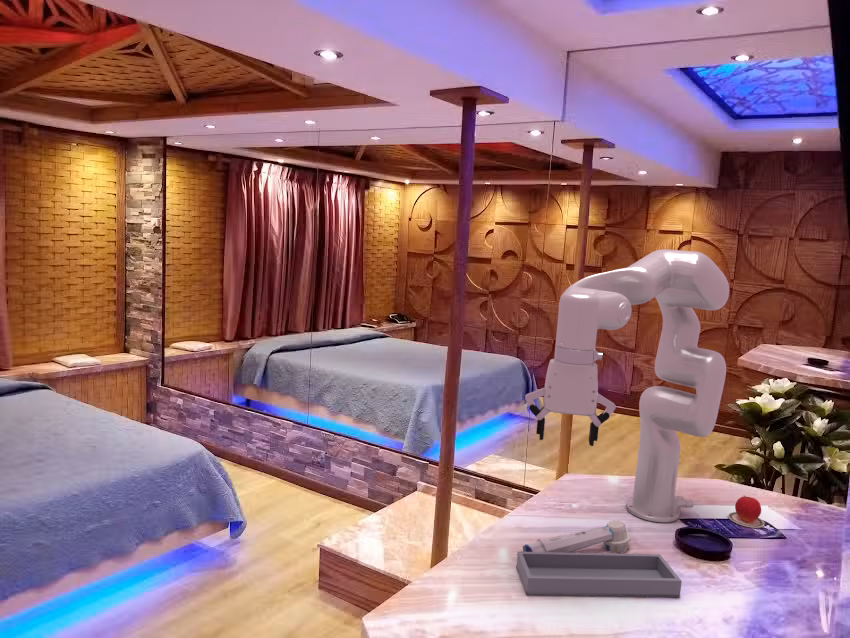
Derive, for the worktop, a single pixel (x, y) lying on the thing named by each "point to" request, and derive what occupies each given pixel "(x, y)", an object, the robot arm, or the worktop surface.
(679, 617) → the worktop surface
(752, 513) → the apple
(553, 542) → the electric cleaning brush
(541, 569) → the tray
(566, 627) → the worktop surface
